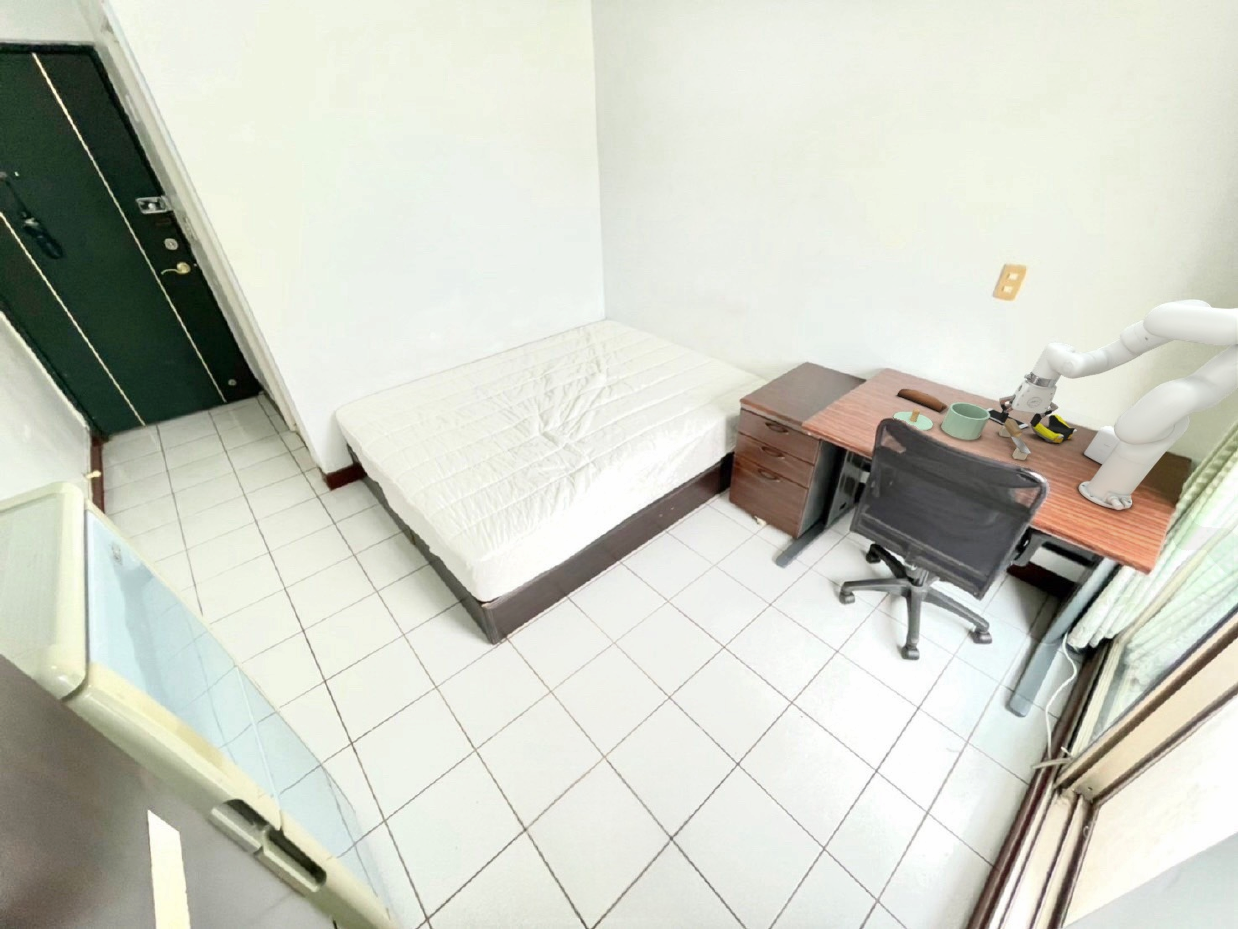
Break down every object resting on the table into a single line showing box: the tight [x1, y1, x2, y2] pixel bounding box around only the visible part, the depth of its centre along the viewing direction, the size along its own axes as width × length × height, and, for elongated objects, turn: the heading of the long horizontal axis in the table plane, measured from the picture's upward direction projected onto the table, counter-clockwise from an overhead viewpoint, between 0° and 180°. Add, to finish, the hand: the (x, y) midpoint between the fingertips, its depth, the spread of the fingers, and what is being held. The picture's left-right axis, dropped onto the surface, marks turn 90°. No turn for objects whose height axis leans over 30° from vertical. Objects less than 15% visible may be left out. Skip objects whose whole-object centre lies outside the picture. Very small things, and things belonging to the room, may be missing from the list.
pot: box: [940, 401, 990, 441], centre depth 179 cm, size 13×13×9 cm
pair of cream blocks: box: [998, 425, 1029, 461], centre depth 172 cm, size 17×3×4 cm, turn 163°
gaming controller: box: [1030, 414, 1078, 444], centre depth 177 cm, size 15×6×10 cm
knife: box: [1003, 418, 1032, 455], centre depth 170 cm, size 3×19×3 cm, turn 163°
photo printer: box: [1083, 425, 1120, 465], centre depth 162 cm, size 10×4×12 cm, turn 14°
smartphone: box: [985, 407, 1029, 430], centre depth 188 cm, size 8×1×15 cm
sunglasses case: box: [897, 388, 949, 413], centre depth 199 cm, size 18×7×7 cm
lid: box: [892, 408, 934, 432], centre depth 185 cm, size 14×14×6 cm
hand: (1016, 423), depth 172 cm, fingers open, 9 cm apart
